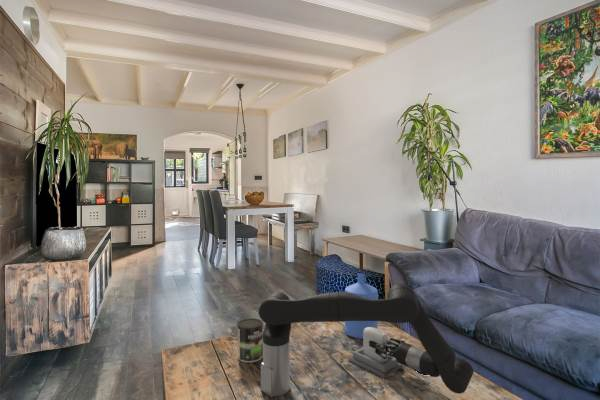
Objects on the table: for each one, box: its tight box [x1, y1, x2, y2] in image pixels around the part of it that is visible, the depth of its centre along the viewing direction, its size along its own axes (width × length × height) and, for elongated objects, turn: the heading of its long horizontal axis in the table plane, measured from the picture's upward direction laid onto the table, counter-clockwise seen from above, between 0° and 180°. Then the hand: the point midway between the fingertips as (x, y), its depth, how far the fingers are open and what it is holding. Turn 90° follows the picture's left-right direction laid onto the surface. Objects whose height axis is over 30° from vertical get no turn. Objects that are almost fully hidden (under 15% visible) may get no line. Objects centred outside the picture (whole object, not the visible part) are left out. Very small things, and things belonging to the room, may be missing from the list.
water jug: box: [343, 273, 379, 340], centre depth 168 cm, size 16×16×28 cm
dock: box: [347, 346, 403, 380], centre depth 140 cm, size 12×17×4 cm
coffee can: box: [236, 318, 264, 364], centre depth 146 cm, size 10×10×14 cm
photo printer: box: [362, 327, 389, 364], centre depth 139 cm, size 10×4×12 cm, turn 40°
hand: (373, 341), depth 140 cm, fingers open, 4 cm apart
